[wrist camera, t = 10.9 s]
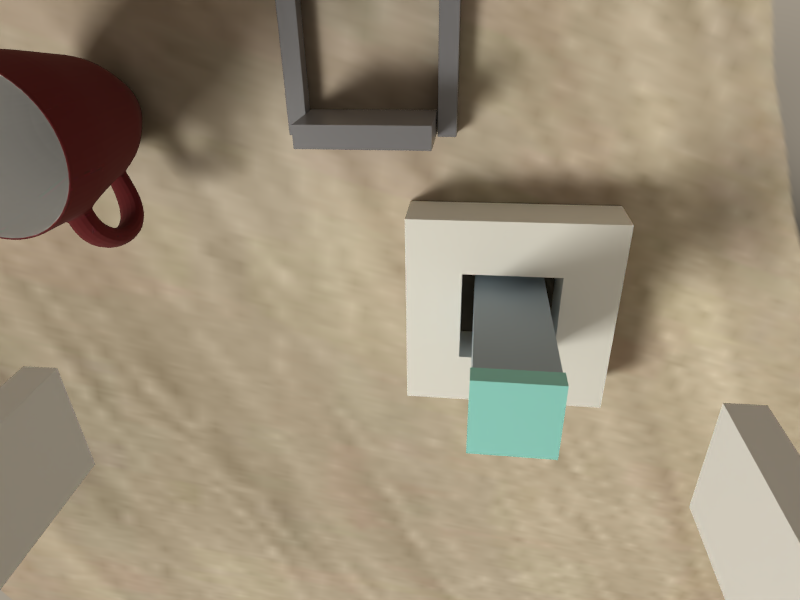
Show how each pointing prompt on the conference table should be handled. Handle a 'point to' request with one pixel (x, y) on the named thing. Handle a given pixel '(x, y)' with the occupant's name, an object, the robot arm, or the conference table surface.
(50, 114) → the mug
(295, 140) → the holster
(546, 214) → the frame
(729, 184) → the conference table surface
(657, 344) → the conference table surface
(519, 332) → the plug
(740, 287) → the conference table surface
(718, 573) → the robot arm
